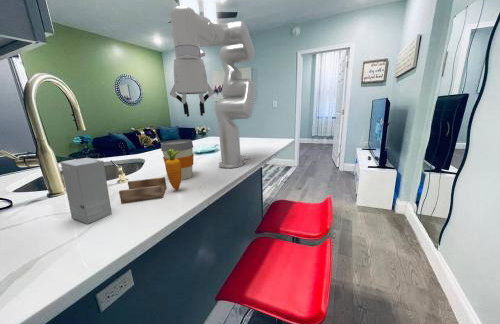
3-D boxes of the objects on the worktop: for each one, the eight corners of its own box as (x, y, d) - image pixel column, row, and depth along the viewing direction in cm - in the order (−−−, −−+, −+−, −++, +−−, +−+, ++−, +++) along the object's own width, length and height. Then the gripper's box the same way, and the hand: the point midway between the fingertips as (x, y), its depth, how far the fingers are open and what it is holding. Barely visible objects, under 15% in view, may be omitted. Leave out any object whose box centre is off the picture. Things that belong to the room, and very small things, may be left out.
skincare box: (71, 218, 56) (54, 162, 52) (99, 207, 62) (87, 156, 58) (87, 225, 52) (71, 165, 48) (116, 212, 58) (103, 158, 54)
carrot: (176, 187, 76) (170, 147, 72) (187, 188, 74) (181, 147, 70) (166, 192, 71) (159, 149, 67) (177, 194, 69) (171, 150, 66)
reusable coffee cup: (166, 174, 92) (161, 141, 88) (195, 171, 96) (192, 138, 92) (164, 183, 80) (158, 145, 77) (197, 179, 84) (193, 142, 80)
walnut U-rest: (166, 187, 76) (164, 177, 75) (162, 197, 67) (160, 186, 66) (130, 192, 73) (128, 181, 72) (121, 203, 64) (118, 191, 63)
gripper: (214, 58, 69) (218, 114, 74) (161, 58, 65) (169, 117, 70) (216, 52, 62) (221, 114, 67) (157, 51, 58) (166, 118, 63)
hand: (194, 115), depth 68 cm, fingers open, 3 cm apart
